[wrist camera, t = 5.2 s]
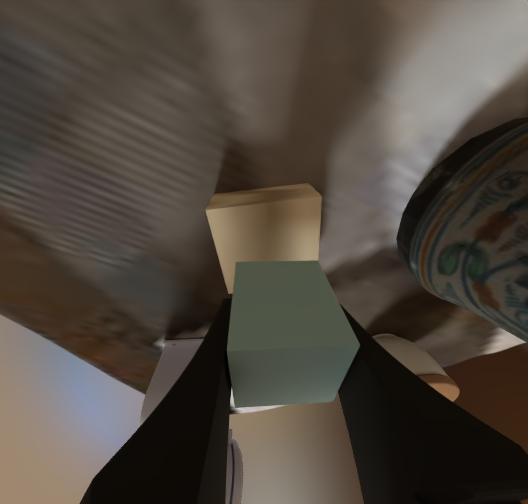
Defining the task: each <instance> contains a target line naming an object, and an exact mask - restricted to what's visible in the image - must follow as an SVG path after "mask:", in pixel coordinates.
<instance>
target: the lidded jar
mask: <svg viewBox="0 0 528 504" xmlns="http://www.w3.org/2000/svg"><path fill="white" fill-rule="evenodd" d="M372 337H373V338H374V339H375V340H376V341H377V342H378V343H379V344H380V345H381V346H382V347H383V348H384V349H385V350H386V351H388V352H389V353H390V354H391V355H392V356H393V357H395V358H396V359H397V360H398V361H399V362H401V363H402V364H403V365H404V366H405V367H407V368H408V369H409V370H410V371H412V372H413V373H414V374H415V375H417V376H418V377H419V378H421V379H422V380H423V381H425V382H426V383H427V384H429V385H430V386H431V387H433V388H434V389H435V390H437V391H438V392H439V393H441V394H442V395H444V396H445V397H446V398H448V399H449V400H451V401H452V402H453V401H454V400H455V399H456V398H457V397H458V395H459V388H458V386H457V385H456V384H455V383H454V382H453V380H452V379H451V378H449V377H448V376H447V374H446V373H445V372H444V370H443V369H442V368H441V367H440V366H439V365H438V363H437V362H436V361H435V360H434V359H433V358H432V357H431V356H430V355H429V354H428V353H426V352H425V351H424V350H423V349H422V348H421V347H419V346H418V345H416V344H414V343H413V342H411V341H409V340H406V339H404V338H400V337H397V336H396V335H394V334H390V333H383V334H378V335H374V336H372Z"/></svg>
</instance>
